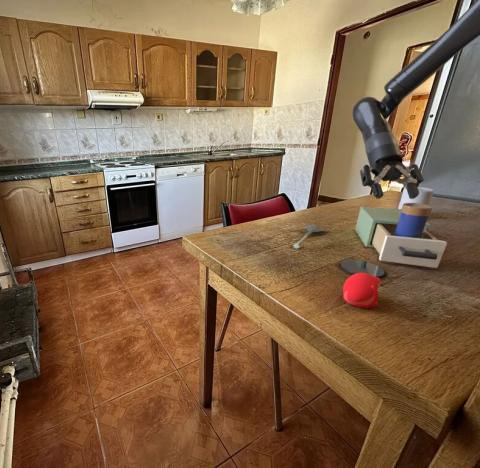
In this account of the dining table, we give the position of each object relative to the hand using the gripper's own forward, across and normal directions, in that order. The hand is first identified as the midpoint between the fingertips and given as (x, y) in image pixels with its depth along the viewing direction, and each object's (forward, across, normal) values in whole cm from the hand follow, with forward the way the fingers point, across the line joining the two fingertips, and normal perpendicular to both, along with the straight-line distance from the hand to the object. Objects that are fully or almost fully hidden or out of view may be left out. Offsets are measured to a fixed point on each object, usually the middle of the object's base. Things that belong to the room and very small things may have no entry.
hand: (397, 197), depth 71 cm
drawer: (+15, 0, +5) cm, 16 cm away
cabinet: (+7, +4, +15) cm, 17 cm away
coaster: (+21, -13, +1) cm, 25 cm away
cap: (+31, -21, -9) cm, 39 cm away
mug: (-13, +30, +35) cm, 48 cm away
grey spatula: (+7, -19, +15) cm, 25 cm away
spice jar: (+15, 0, +4) cm, 15 cm away
